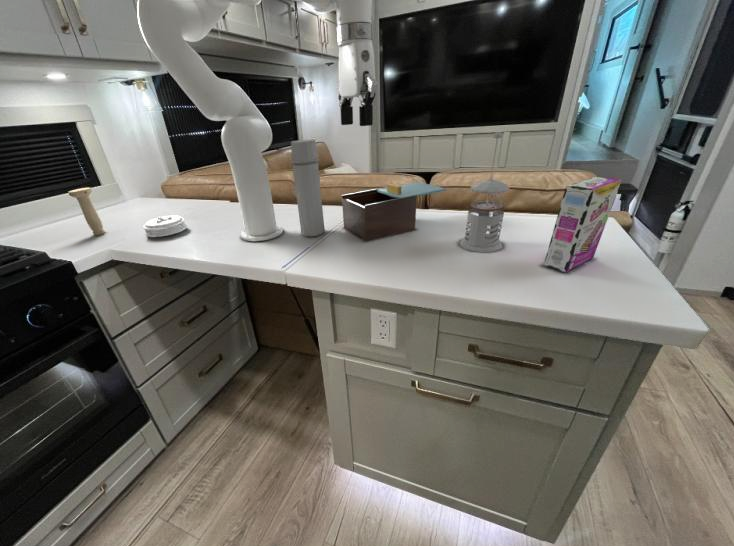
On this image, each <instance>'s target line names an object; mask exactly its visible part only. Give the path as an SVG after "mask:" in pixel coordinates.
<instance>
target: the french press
mask: <svg viewBox="0 0 734 546" xmlns="http://www.w3.org/2000/svg"><path fill="white" fill-rule="evenodd" d="M503 136H504V134H503V132H502V131H496V132H494V133H493V135H492V139H496V142H495V148H494V154H493V161H492V167H491V173H490V178H489V179H484V180H481V181H478V182H475V183H474V184H472V185H471V186H470V189H471V190H472V192H475V193H479V194H487V199H486V200H479V201H475V202H472V203H471V204H470V207H471V208H470V209H469V210H468V211H467V219H466V225H465V226H466V227H465V231H464V233H465V234H464V238H463V239H461V241H460V242H459V245H460V247H461V248H463V249H465V250H467V251H468V250H469V251H471V252H476V253H477V252H478V253H490V252H497V251H500V250H501V249H502V248H503V244H502V243H501V241H500V237H501V231H502V227H503V225H502V224H503V221H504V215H505V212H504V210H503V208H504V207H505V205H504V204H503V203H502V197H503V196H502V195H503V193H506V192H508V191H509V190H510V186H509V185H508V184H506V183H505V182H503V181H500V180H498V179H493V171H494V167H495V166H494V165H495V159H496V153H497V147H498V140H499V139H503ZM499 194H500V196H499ZM489 196H492V197H493V200H492V201H491V200H489ZM498 196H499V197H500V200H499V202H498V201H495V200H496V199H495V198H496V197H498ZM476 214H477V215H476ZM488 226H489V228H488ZM487 232H489V233H487Z"/></svg>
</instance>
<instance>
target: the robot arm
mask: <svg viewBox="0 0 734 546" xmlns="http://www.w3.org/2000/svg"><path fill="white" fill-rule="evenodd" d="M261 1H262V0H137V4H136V5H137V6H136V9H137V10H136V12H137V13H136V14H137V21H138V25H139V29H140V32H141V35H142V37H143V39H144V42H145V44H146V45H147V47H148V49H149V50H150V51H151V54H152V55H153V56H154V57H155V58H156V60H157V61H158V62H159V63H160V65H161V66H162V67H163V68H164V69H165V70H166V71H167V73H168V74H169V75H170V76H171V77H172V78H173V80H174V81H175V82H176V83H177V85H178V86H179V88H181V90H182V91H183V92H184V94H185V95H186V96H187V97H188V98H189V99H190V100H191V102H192V103H193V104H194V105H195V107H196V108H197V110H198V111H199V112H200V113H201V114H202V115H203V116H204V117H205V118H206V119H208V120H210V121H214V122H222V121H225V123H224V125H223V126H222V129H221V135H220V139H221V143H222V144H221V145H222V147H223V150H224V153H225V155H226V158H227V160H228V163H229V166H230V170H231V174H232V179H233V183H234V186H235V191H236V194H237V195H236V196H237V200H238V204H239V209H240V213H241V218H242V223H243V227H244V230H242V231H241V233H240V238H241V239H242V240H243V241H247V242H262V241H263V242H265V241H269V240H272V239H275V238H277V237H279V236H281V235H282V234H283V232H284V231H283V227H282V226H281V225H278V224H277V219H276V213H275V209H274V201H273V196H272V190H271V184H270V178H269V173H268V168H267V165H266V162H265V159H264V157H263V153H262V152H265V151H266V150H267V149H269V147H270V146H271V145H272V143H273V132H272V131H273V130H272V128H271V126H270V124H269V122H268V120H267V119H266V118H265V117H264V115H263V114H262V112H261V111H260V110H259V109H258V107H257V106H256V104H255V103H254V102H253V101H252V99H250V97H249V96H248V95H247V93H246V92H245V91H244V90H243V89H242V88H241V86H239V85H238V84H237V83H236V82H234V81H232V80H229V79H224V78H220V77H218V76H217V75H216V73H214V72H213V70H211V69H210V67H209V66H208V65H207V64H206V62H205V61H204V59H203V58H202V57H201V55H200V54H199V53H198V52H197V51H196V50H195V49H194V48H193V47H192V46H191V45H190V44H188V43H189V42H190V43H195V42H199V41H201V40H203V39H204V38H206V36H207V35H208V34H209V33H210V32H211V31H212V29H214V27H215V26H216V24H217V23H218V22H219V21H220V20H221V19H222V18H223V16H224V15H225V14H226V13H227V11H228V10H229V8H230V7H231V6H232V4H233V3H235V4H241V5H248V6H257V5H259V4H260V3H261ZM294 1H295V2H300V3H303V4H304V5H305V6H306V7H307V8H309V10H311V11H312V12H313V13H315V14H327V13H330V12H334V11H336V33H337V34H336V36H337V39H336V40H337V47H338V85H337V87H336V90H337V95H338V101H339V108H340V125H341V126H350V125H353V124H354V107H353V105H352V104H353V100H354V98H358V101H359V104H360V106H359V109H358V112H359V113H358V114H359V127H367V126H373V124H374V123H373V119H374V117H373V115H374V114H373V113H374V112H373V111H374V110H373V109H374V105H375V101H374V100H375V98H376V91H377V86H378V81H377V80H376V64H375V63H376V61H375V52H374V46H373V41H372V40H373V37H372V36H373V32H372V31H373V27H372V26H373V25H372V24H373V13H372V11H373V10H372V9H373V7H372V6H373V0H294Z"/></svg>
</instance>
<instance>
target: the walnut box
mask: <svg viewBox="0 0 734 546" xmlns="http://www.w3.org/2000/svg"><path fill="white" fill-rule="evenodd" d="M384 188H387V186H384V187H378V188H373V189H368V190H363V191H357V192H352V193H347V194H342V195H341V202H342V203H341V204H342V220H343V229H345V230H346V231H348V232H350V233H351V234H353V235H355V236H356V237H358V238H359V239H361V240H363V241H365V242H371V241H374V240H379V239H383V238H386V237H390V236H395V235H399V234H403V233H406V232H407V233H408V232H411V231H412V232H413V231H415V230H416V218H417V202H418V201H417V199H418V197H417V195H413V196H408V197H403V198H398V199H397V198H394V197H391V196H388V195H385V194H382V193H379V192H377V190H379V189H384Z"/></svg>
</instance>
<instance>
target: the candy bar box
mask: <svg viewBox="0 0 734 546" xmlns="http://www.w3.org/2000/svg"><path fill="white" fill-rule="evenodd" d="M622 181H623V180H622V179H619V178H609V177H601V176H594V177H590V178H588V179H585V180H584V179H583V180H582V181H577V182H575V183H572V184H568V185H565V188H564V192H563V195H562V198H561V203H560V206H559V210H558V212H557V217H556V220H555V222H554V224H555V225H554V227H553V230H552V234H551V238H550V241H549V245H548V248H547V251H546V254H545V258H544V261H543V264H542V265H543V267H546V268H549V269H553V270H556V271H558V272H562V273H568V272H570V271H572V270H574V269H576V268H577V267H579V266H581V265H583V264H585V263H587V262H589V261H591V260H592V259H594V257H595V254H596V252H597V249H598V246H599V243H600V241H601V238H602V235H603V232H604V230H605V227H606V224H607V221H608V219H609V216H610V214H611V211H612V209H613V206H614V203H615V201H616V197H617V195H618V192H619V189H620V187H621V184H622Z"/></svg>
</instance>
